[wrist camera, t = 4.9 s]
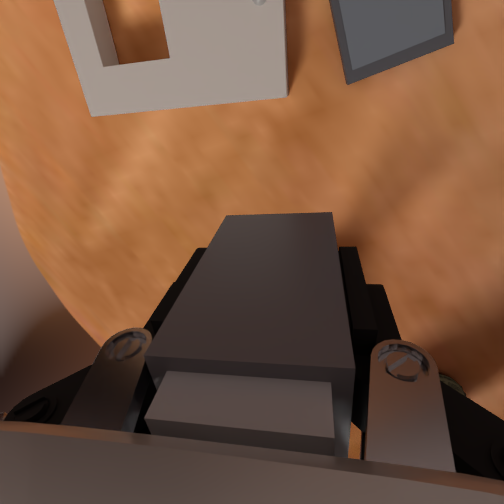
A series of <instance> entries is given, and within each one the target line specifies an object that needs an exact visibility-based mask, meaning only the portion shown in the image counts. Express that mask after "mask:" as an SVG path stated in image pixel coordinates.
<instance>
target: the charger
mask: <svg viewBox="0 0 504 504" xmlns="http://www.w3.org/2000/svg"><path fill="white" fill-rule="evenodd" d="M144 358H145V361H146V363H147V366H148V369H149V371H150V374H151V376H152V379H153V382H154V384H155V387H156V389H157V393H156V395H155V397H154V399H153V401H152V403H151V405H150V407H149V409H148V411H147V413H146V415H145V417H144V419H145V421H146V423H147V426H148V428H149V430H150V432H151V435H158V436H166V437H175V438H184V439H192V440H201V441H209V442H218V443H227V444H235V445H244V446H252V447H261V448H269V449H277V450H286V451H294V452H302V453H310V454H318V455H326V456H335V457H343V458H348V448H349V437H350V425H351V414H352V402H353V391H354V379H355V362H354V356H353V349H352V342H351V336H350V329H349V322H348V315H347V309H346V302H345V295H344V289H343V282H342V275H341V268H340V262H339V255H338V248H337V242H336V235H335V228H334V222H333V215H332V212H322V213H291V214H260V215H228V216H226V217H225V219H224V220H223V222H222V224H221V226H220V227H219V229H218V231H217V232H216V234H215V236H214V237H213V239H212V241H211V242H210V244H209V246H208V247H207V249H206V251H205V253H204V254H203V256H202V258H201V259H200V261H199V263H198V264H197V266H196V268H195V269H194V271H193V273H192V274H191V276H190V278H189V280H188V281H187V283H186V285H185V286H184V288H183V290H182V291H181V293H180V295H179V296H178V298H177V300H176V301H175V303H174V305H173V307H172V308H171V310H170V312H169V313H168V315H167V317H166V318H165V320H164V322H163V323H162V325H161V327H160V329H159V330H158V332H157V334H156V335H155V337H154V339H153V340H152V342H151V344H150V345H149V347H148V349H147V350H146V352H145V354H144Z"/></svg>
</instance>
